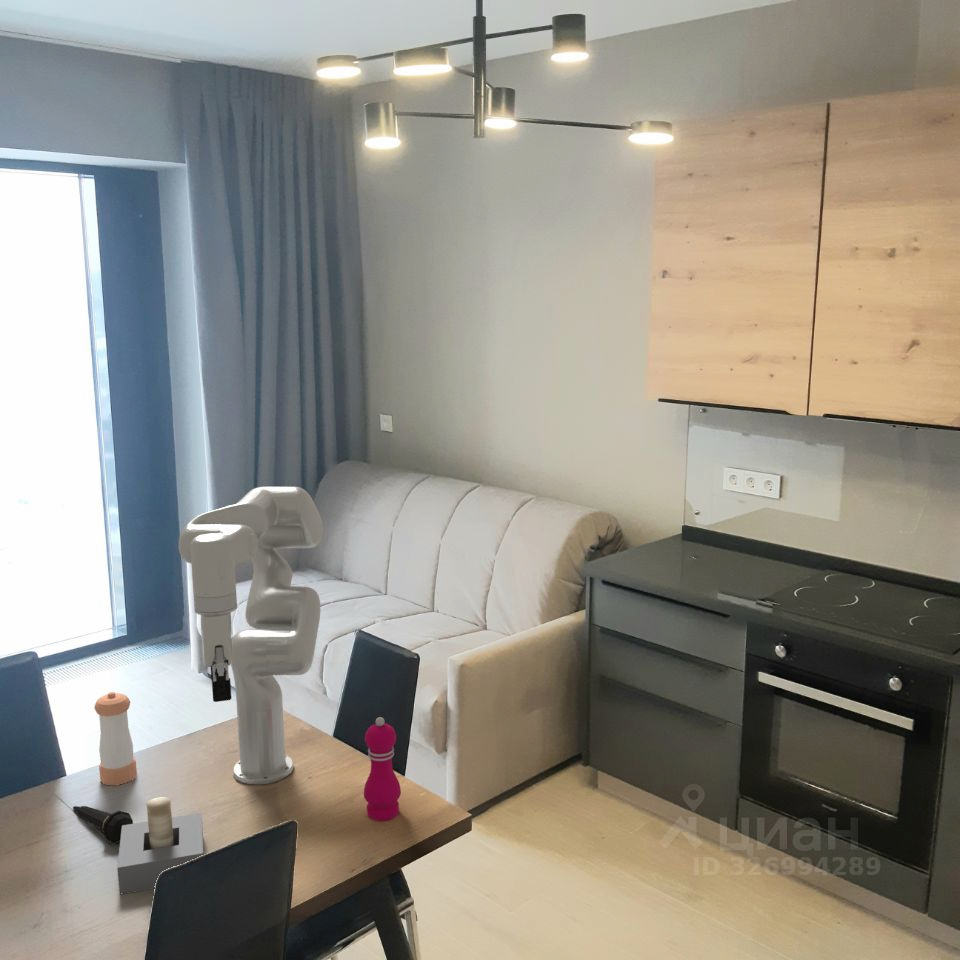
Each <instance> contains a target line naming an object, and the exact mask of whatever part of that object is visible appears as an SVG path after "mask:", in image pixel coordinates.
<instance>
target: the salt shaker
mask: <svg viewBox="0 0 960 960" xmlns="http://www.w3.org/2000/svg"><path fill="white" fill-rule="evenodd" d="M130 705H131V701H130V698H129V697H128V696H127V694H125V693H119V692H114V691H110V692H108V693H107V694H105V695H102V696H101V697H99V698H98V699H97V700H96V702H95V704H94V711H95V712H96V714H97V715H98V717H99V729H100V737H99V752H98V753H99V758H100V759H99V760H100V763H99V765H98V766H99V769H98V770H99V780H101V781H100V783H101V782H102V783H104V784H106V785H105V786H108V785H116V786H121V785H120V784H122V785H124V784H123V783H125V784H128V783H130V782H132V781H133V780H135V779H136V777H137V776H136V775H137V774H138V772H137V770H138V769H137V760H136V758H135V756H134V744H133V739H132V736H131V732H130V728H129V719H128V710H129V708H130ZM132 779H133V780H132ZM131 780H132V781H131ZM129 781H130V782H129ZM127 782H128V783H127ZM102 783H101V784H102ZM104 784H103V785H104Z"/></svg>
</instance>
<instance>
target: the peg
mask: <svg viewBox="0 0 960 960" xmlns="http://www.w3.org/2000/svg"><path fill="white" fill-rule="evenodd" d="M171 802H172V801H171V799H170V798H169V797H167V796H160V797H153V798H151V799H150V800H148V801H147V803H146V814H147V821H148V827H149V838H150V850H152V849H158V848H164V847H170V846H174V840H173V827H172V807H171V805H172V804H171Z"/></svg>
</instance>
